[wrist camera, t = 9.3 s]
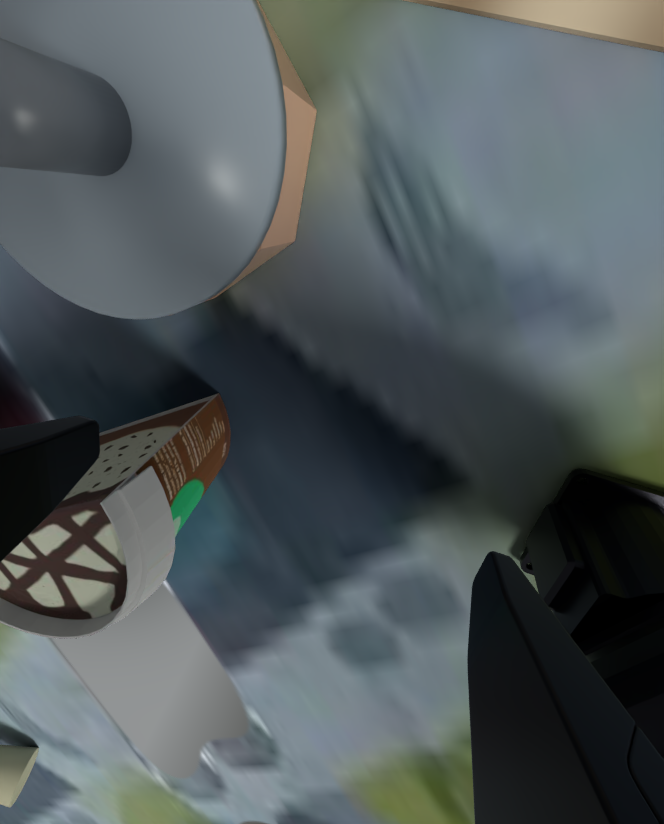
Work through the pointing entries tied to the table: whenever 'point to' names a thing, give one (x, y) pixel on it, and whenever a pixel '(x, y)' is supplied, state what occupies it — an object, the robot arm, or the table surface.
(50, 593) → the food container
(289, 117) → the bowl
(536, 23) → the mat
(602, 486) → the robot arm
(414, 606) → the table surface
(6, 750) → the flower vase
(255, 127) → the lid
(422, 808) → the table surface
